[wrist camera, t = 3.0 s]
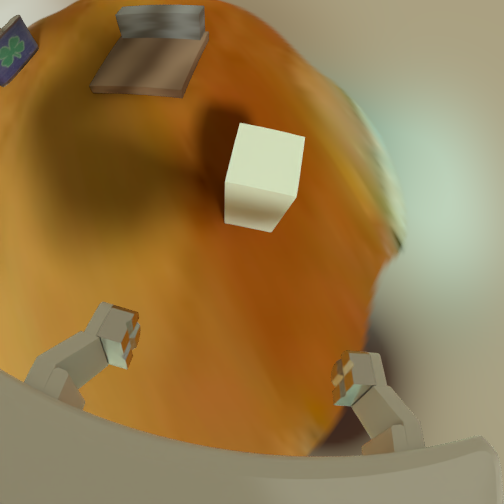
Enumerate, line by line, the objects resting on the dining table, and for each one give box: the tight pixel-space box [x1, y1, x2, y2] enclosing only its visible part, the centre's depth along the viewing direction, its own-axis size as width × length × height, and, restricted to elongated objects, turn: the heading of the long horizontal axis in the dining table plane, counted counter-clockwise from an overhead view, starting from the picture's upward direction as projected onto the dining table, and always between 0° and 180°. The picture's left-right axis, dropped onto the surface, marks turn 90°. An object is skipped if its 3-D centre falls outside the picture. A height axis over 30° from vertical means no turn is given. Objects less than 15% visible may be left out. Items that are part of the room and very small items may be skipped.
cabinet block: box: [224, 123, 305, 232], centre depth 23 cm, size 4×4×10 cm
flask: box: [0, 15, 39, 87], centre depth 23 cm, size 9×3×11 cm, turn 151°
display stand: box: [89, 5, 209, 98], centre depth 27 cm, size 12×11×6 cm
